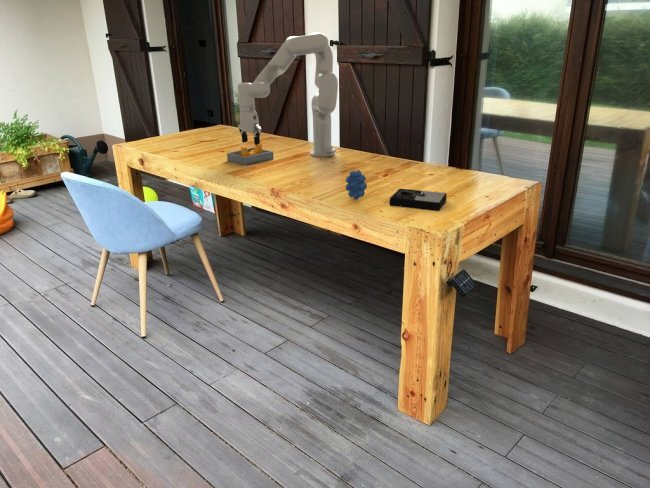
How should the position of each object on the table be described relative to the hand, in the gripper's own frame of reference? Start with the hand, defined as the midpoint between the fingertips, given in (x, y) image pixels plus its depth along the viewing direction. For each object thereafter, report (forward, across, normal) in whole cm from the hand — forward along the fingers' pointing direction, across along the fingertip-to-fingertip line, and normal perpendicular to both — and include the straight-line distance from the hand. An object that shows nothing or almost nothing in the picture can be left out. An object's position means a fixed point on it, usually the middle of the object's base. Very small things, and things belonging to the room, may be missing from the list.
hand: (251, 143), depth 268 cm
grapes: (+10, -83, +15) cm, 85 cm away
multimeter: (+11, -104, +4) cm, 104 cm away
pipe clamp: (+8, 0, +1) cm, 8 cm away
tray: (+8, +1, +1) cm, 9 cm away
